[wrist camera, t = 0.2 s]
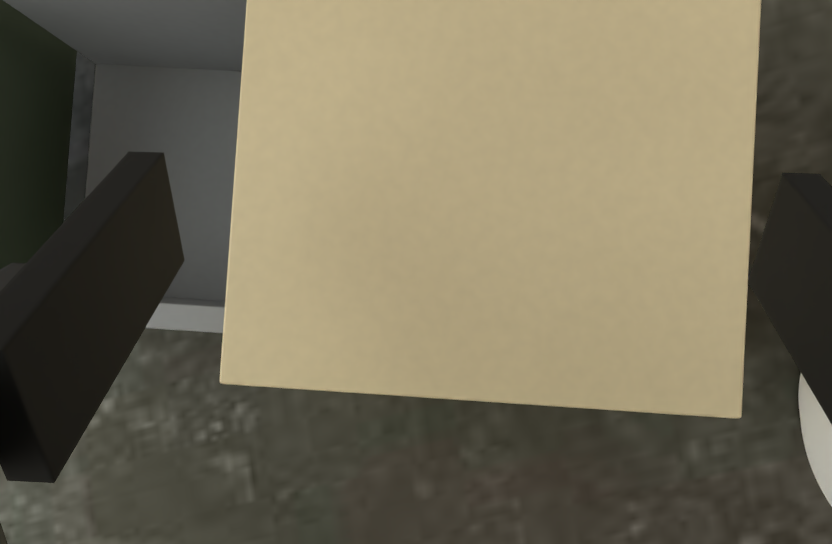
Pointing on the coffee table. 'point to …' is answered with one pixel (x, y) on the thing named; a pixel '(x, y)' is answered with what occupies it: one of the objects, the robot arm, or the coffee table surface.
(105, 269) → the robot arm
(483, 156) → the beige box shell
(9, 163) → the green-front drawer
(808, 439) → the vase
